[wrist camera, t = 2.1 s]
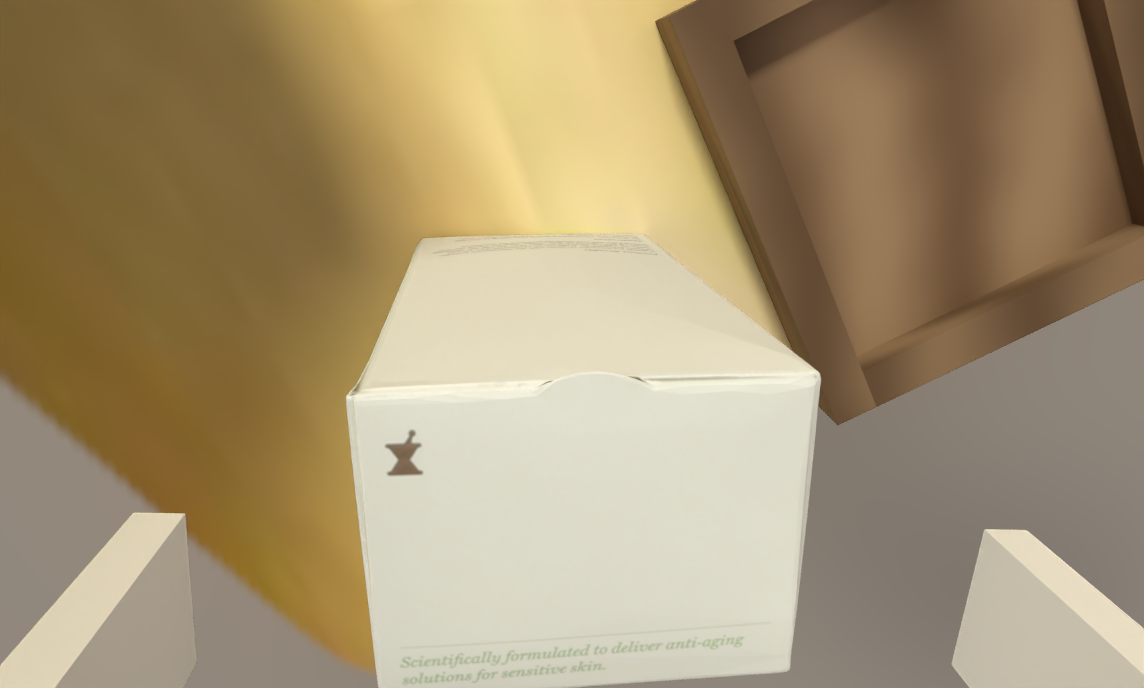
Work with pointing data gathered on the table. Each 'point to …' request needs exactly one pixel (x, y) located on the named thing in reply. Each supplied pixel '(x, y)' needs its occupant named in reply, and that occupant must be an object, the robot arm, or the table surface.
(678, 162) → the table surface
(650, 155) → the table surface
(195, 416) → the table surface
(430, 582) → the skincare box
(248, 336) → the table surface
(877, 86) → the brown wooden tray
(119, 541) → the robot arm
